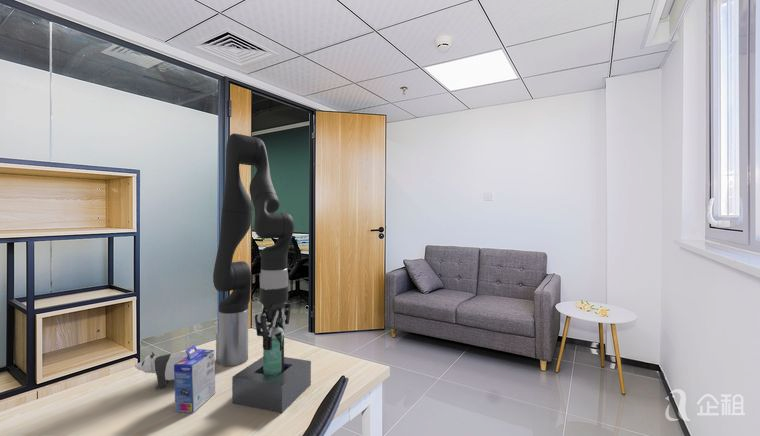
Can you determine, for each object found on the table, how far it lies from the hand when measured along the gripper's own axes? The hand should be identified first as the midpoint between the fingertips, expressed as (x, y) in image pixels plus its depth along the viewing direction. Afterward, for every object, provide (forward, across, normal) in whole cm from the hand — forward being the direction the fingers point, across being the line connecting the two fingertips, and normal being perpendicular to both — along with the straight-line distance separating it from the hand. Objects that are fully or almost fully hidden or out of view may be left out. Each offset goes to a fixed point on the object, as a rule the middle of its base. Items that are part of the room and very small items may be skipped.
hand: (273, 345), depth 96 cm
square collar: (+13, 0, 0) cm, 13 cm away
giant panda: (+14, +5, -32) cm, 35 cm away
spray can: (+14, 0, 0) cm, 14 cm away
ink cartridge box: (+14, +10, -17) cm, 24 cm away
